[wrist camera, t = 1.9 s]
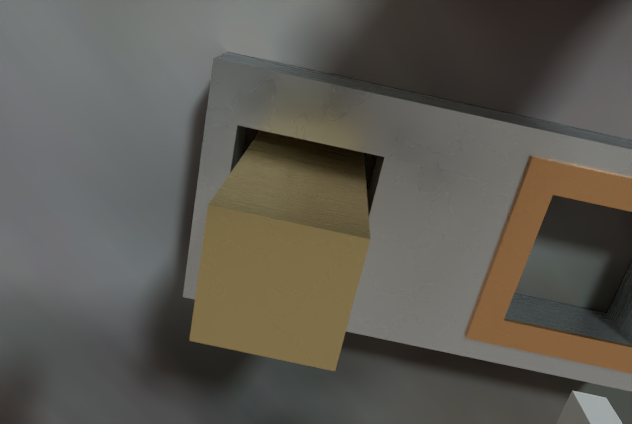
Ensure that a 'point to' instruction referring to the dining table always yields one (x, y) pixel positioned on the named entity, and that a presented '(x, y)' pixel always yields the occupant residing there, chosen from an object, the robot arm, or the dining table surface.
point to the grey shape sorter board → (439, 212)
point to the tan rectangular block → (284, 252)
